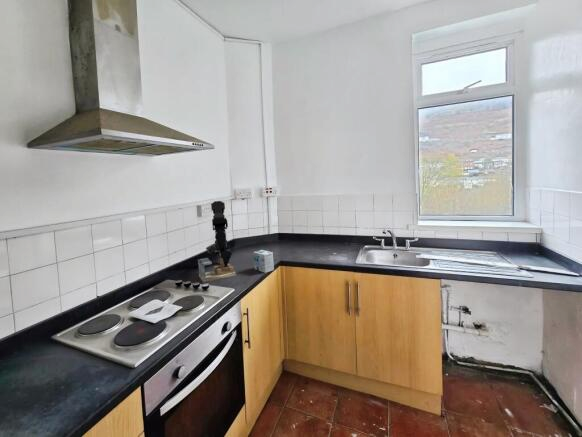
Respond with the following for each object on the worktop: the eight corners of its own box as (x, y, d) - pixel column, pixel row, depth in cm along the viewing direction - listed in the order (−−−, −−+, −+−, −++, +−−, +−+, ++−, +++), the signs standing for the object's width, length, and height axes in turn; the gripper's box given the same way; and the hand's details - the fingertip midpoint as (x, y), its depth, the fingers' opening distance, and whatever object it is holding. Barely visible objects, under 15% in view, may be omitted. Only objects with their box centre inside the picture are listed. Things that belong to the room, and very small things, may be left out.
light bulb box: (254, 269, 167) (252, 252, 165) (263, 266, 171) (261, 249, 170) (265, 273, 159) (264, 254, 158) (274, 269, 164) (273, 252, 162)
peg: (226, 270, 163) (225, 257, 162) (228, 271, 160) (226, 258, 159) (220, 271, 161) (218, 258, 160) (221, 273, 158) (220, 259, 157)
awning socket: (199, 276, 160) (197, 259, 159) (229, 269, 168) (228, 253, 167) (203, 282, 150) (201, 264, 148) (235, 275, 158) (234, 258, 157)
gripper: (203, 238, 162) (205, 264, 165) (210, 243, 146) (213, 272, 148) (222, 235, 168) (224, 260, 170) (231, 240, 151) (233, 268, 153)
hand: (223, 265), depth 160 cm, fingers open, 9 cm apart
